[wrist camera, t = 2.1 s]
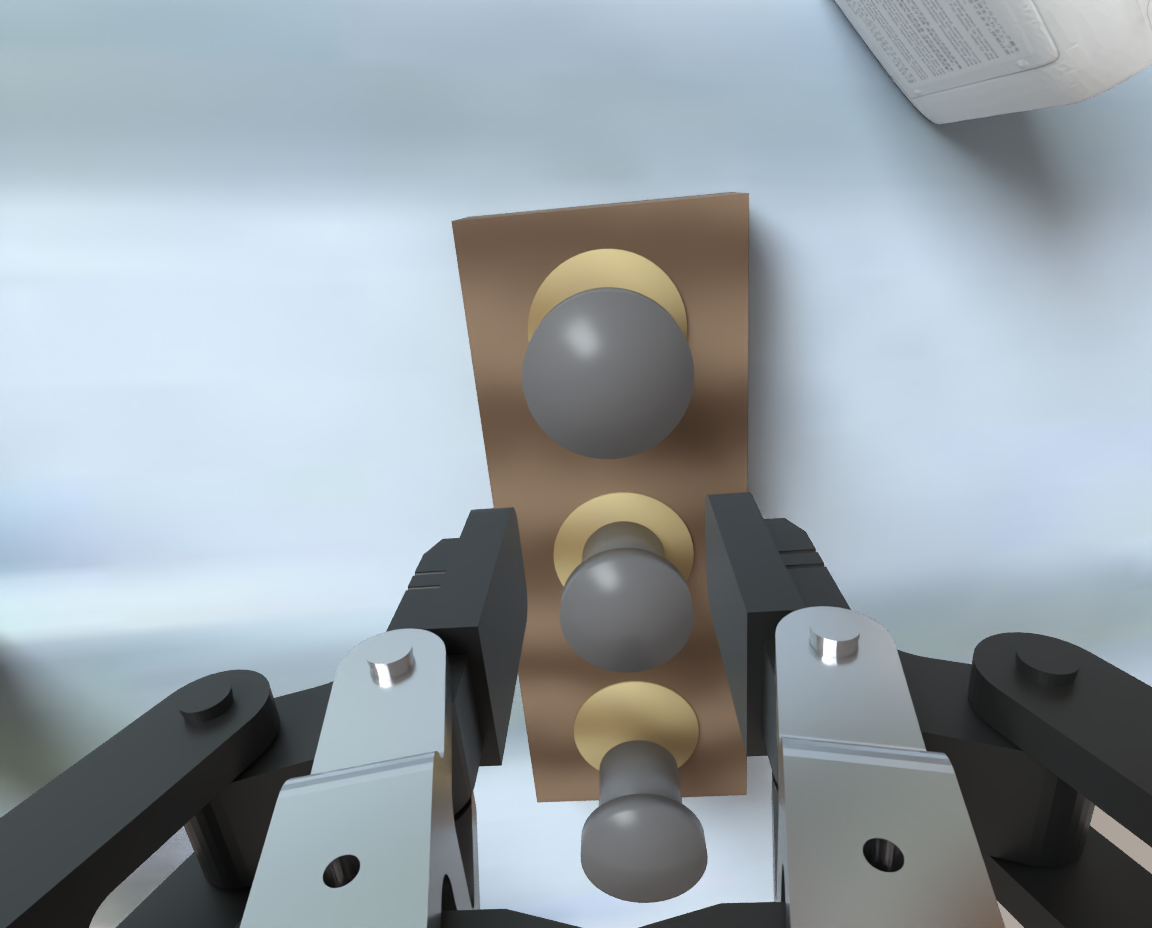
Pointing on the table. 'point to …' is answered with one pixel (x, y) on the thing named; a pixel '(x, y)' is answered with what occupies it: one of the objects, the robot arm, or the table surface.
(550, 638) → the mount board
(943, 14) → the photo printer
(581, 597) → the middle knob
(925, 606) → the table surface
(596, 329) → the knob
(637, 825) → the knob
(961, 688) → the robot arm
